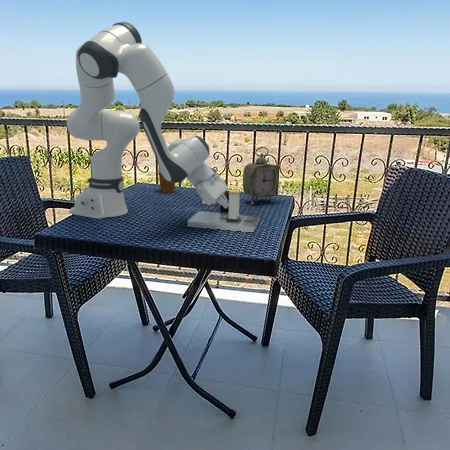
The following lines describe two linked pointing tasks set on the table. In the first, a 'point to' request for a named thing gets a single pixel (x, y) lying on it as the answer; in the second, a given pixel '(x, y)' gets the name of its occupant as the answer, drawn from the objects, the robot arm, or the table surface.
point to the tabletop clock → (260, 178)
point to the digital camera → (228, 201)
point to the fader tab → (234, 205)
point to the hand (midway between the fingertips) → (228, 206)
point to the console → (223, 222)
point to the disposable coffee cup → (165, 184)
